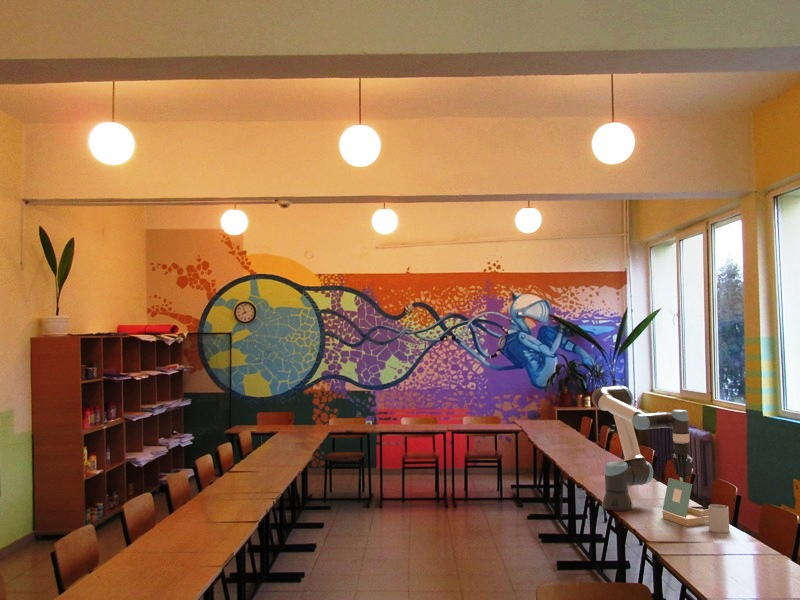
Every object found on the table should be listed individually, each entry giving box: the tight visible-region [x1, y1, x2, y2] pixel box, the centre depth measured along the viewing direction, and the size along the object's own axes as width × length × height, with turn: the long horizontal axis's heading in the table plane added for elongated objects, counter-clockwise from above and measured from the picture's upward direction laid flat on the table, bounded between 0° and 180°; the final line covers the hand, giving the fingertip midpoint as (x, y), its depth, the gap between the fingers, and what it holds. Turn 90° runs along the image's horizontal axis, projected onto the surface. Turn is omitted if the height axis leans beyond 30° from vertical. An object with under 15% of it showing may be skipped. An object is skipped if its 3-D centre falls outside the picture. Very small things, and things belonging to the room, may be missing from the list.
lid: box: [662, 477, 693, 518], centre depth 331 cm, size 16×16×1 cm
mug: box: [701, 503, 730, 534], centre depth 316 cm, size 12×8×11 cm
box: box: [661, 506, 709, 528], centre depth 333 cm, size 17×17×4 cm
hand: (683, 490), depth 333 cm, fingers closed
